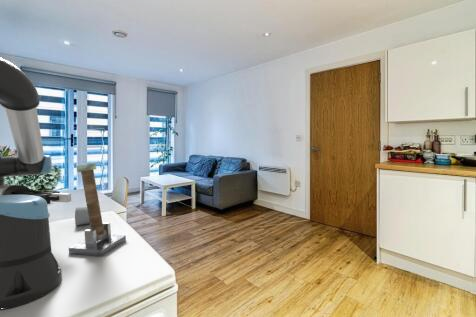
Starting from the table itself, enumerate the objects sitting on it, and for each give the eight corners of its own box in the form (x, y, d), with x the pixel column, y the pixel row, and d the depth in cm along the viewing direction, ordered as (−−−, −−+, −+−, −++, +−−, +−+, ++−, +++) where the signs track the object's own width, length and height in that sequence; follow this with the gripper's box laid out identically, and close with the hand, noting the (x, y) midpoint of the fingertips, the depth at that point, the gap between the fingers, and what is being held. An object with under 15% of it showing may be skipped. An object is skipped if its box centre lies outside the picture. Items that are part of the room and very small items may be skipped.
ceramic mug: (97, 224, 106) (96, 206, 106) (75, 227, 103) (73, 209, 102) (98, 217, 116) (97, 201, 115) (78, 220, 112) (76, 204, 112)
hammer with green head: (98, 242, 81) (84, 164, 79) (88, 243, 82) (75, 166, 80) (108, 236, 86) (96, 163, 84) (99, 237, 87) (87, 164, 85)
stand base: (102, 256, 77) (100, 234, 76) (69, 253, 79) (67, 232, 79) (125, 240, 89) (124, 221, 88) (96, 238, 91) (95, 219, 90)
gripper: (31, 201, 95) (84, 203, 91) (-7, 211, 83) (52, 214, 79) (30, 181, 95) (83, 183, 91) (-9, 189, 82) (51, 191, 78)
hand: (69, 197), depth 85 cm, fingers closed
